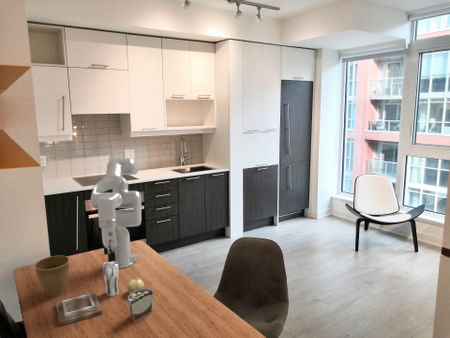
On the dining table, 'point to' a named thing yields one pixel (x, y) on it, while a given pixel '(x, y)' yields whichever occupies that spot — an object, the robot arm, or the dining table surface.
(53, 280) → the plant pot
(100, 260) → the dining table surface
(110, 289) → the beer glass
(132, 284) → the onion
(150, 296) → the food container
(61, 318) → the holder board
